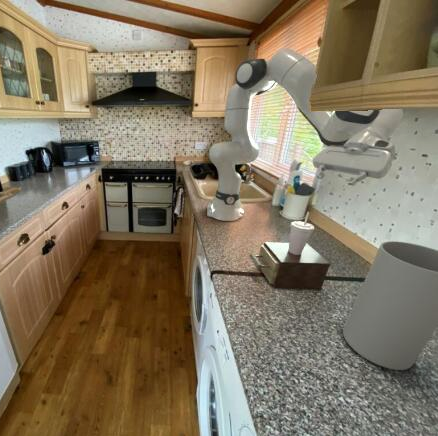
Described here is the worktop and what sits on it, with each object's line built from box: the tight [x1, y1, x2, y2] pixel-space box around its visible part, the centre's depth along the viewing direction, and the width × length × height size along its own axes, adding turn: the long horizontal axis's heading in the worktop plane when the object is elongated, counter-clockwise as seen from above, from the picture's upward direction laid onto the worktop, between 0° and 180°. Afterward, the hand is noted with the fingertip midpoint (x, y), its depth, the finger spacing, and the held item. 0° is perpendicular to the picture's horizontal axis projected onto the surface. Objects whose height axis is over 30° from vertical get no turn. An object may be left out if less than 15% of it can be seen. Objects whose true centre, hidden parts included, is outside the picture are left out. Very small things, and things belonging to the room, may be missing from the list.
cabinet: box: [263, 241, 331, 290], centre depth 81 cm, size 15×13×10 cm
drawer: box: [248, 244, 280, 285], centre depth 81 cm, size 18×11×8 cm, turn 88°
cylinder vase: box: [342, 240, 438, 371], centre depth 53 cm, size 12×12×25 cm
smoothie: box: [288, 211, 315, 255], centre depth 76 cm, size 6×6×14 cm
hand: (333, 180), depth 78 cm, fingers open, 8 cm apart
